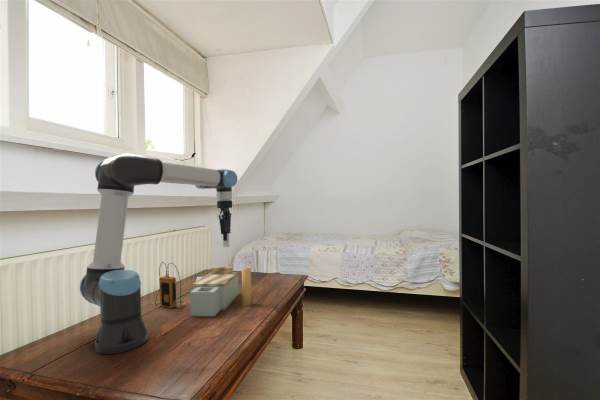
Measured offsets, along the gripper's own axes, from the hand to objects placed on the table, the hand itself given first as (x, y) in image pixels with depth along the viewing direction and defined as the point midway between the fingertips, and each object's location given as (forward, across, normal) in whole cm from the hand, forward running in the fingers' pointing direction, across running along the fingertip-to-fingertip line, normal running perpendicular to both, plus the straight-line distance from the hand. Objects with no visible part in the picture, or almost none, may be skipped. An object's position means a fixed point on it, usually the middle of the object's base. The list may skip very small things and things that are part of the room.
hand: (226, 246), depth 154 cm
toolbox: (+23, +18, 0) cm, 29 cm away
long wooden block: (+23, +18, +15) cm, 33 cm away
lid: (+13, +14, 0) cm, 19 cm away
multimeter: (+23, +17, -19) cm, 35 cm away
